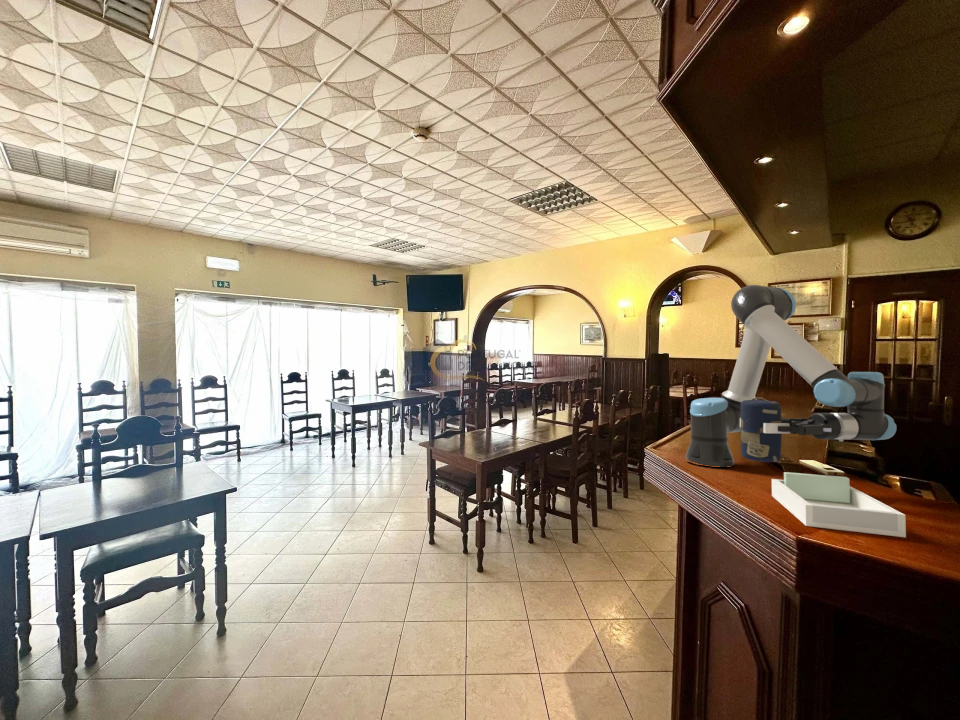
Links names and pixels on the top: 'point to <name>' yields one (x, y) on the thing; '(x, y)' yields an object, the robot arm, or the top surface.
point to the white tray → (843, 512)
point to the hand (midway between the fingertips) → (752, 425)
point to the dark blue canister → (760, 430)
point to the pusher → (819, 486)
